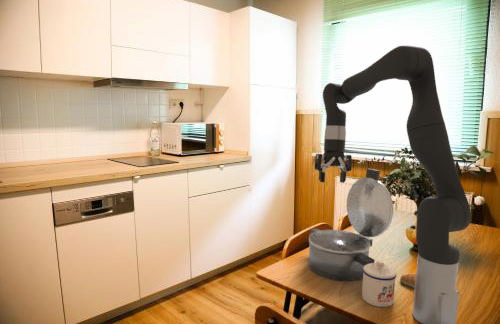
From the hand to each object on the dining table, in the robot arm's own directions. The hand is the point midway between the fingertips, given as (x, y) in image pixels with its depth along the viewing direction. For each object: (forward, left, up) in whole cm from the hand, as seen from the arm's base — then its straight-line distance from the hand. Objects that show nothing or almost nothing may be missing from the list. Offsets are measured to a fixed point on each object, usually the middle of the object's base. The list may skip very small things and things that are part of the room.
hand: (332, 182), depth 125 cm
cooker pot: (-10, +3, -28) cm, 30 cm away
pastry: (-30, -12, -29) cm, 43 cm away
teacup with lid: (-31, +5, -28) cm, 42 cm away
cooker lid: (-10, -8, -6) cm, 14 cm away
